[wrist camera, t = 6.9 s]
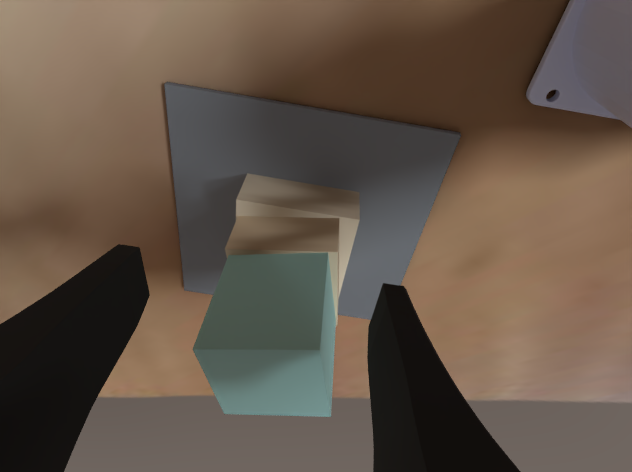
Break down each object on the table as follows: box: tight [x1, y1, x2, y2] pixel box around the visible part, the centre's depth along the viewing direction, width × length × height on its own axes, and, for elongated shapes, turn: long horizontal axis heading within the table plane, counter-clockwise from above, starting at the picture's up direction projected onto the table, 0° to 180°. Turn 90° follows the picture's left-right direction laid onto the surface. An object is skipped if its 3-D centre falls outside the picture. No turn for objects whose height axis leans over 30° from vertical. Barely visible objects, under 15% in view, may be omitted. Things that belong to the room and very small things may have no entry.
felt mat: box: [164, 82, 461, 320], centre depth 23 cm, size 14×14×1 cm
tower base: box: [236, 173, 360, 299], centre depth 22 cm, size 6×6×2 cm
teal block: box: [193, 252, 336, 417], centre depth 17 cm, size 4×4×5 cm
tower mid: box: [225, 216, 339, 326], centre depth 20 cm, size 5×5×2 cm
